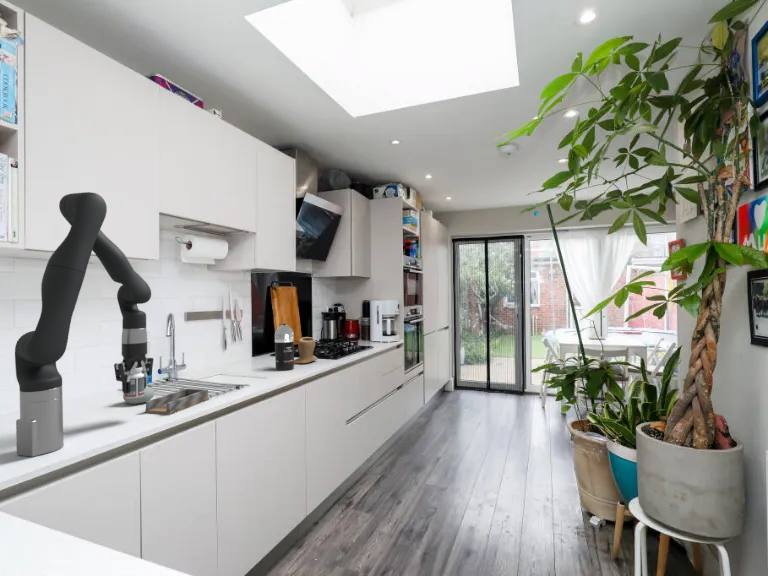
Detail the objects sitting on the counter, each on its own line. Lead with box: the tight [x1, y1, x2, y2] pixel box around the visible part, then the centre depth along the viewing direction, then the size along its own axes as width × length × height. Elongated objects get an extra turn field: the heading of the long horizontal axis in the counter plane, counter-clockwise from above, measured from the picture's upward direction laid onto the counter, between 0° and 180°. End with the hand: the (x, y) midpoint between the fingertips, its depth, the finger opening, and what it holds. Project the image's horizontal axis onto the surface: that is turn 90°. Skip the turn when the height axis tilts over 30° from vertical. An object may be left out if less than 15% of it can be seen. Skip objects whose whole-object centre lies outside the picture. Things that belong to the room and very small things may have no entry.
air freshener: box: [122, 377, 155, 405], centre depth 164 cm, size 11×8×10 cm
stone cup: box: [294, 336, 319, 364], centre depth 246 cm, size 15×12×15 cm
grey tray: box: [144, 388, 210, 415], centre depth 157 cm, size 20×11×4 cm, turn 164°
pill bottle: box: [125, 367, 144, 399], centre depth 141 cm, size 6×6×10 cm
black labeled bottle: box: [274, 323, 295, 371], centre depth 227 cm, size 10×10×25 cm
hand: (134, 390), depth 141 cm, fingers closed on pill bottle, 5 cm apart
